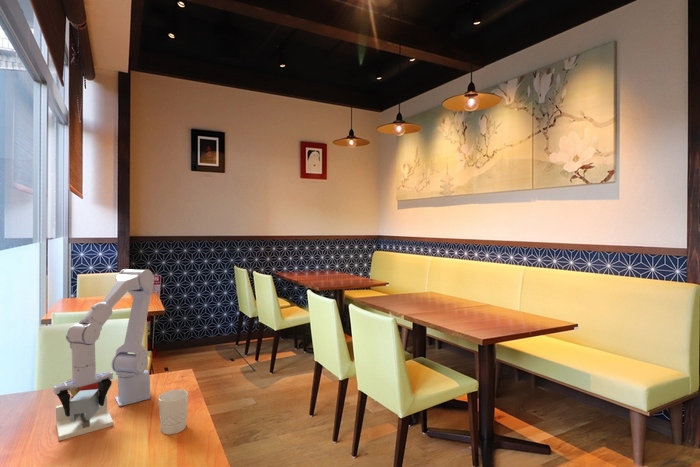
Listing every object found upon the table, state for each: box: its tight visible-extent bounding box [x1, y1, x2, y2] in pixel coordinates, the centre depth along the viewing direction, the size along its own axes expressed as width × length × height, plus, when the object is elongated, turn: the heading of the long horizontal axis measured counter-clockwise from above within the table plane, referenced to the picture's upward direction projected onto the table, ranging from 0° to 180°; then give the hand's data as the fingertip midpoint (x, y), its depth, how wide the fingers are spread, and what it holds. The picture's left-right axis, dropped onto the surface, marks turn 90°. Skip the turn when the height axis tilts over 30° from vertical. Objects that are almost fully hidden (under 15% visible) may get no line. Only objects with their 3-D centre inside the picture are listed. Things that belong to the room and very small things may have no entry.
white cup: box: [157, 388, 189, 435], centre depth 117 cm, size 8×8×10 cm
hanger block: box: [70, 389, 99, 422], centre depth 118 cm, size 5×7×6 cm
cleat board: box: [55, 394, 114, 441], centre depth 119 cm, size 13×12×5 cm
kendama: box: [67, 378, 98, 398], centre depth 140 cm, size 8×6×18 cm
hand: (84, 409), depth 118 cm, fingers closed on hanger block, 7 cm apart
